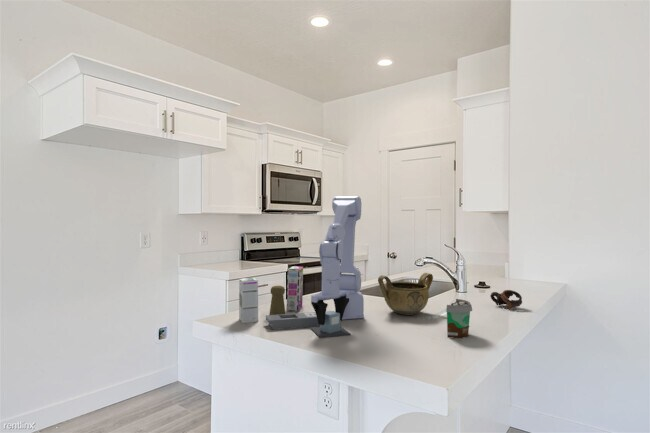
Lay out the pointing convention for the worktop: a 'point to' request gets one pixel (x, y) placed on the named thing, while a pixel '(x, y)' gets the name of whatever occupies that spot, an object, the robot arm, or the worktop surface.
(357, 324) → the worktop surface
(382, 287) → the ceramic bowl
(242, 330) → the worktop surface
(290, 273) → the candy bar box
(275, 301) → the tan rounded upright piece
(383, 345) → the worktop surface
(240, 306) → the syrup box
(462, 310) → the food container
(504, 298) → the dark brown looped piece
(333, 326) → the block
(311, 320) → the power strip
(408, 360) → the worktop surface
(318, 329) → the mat
